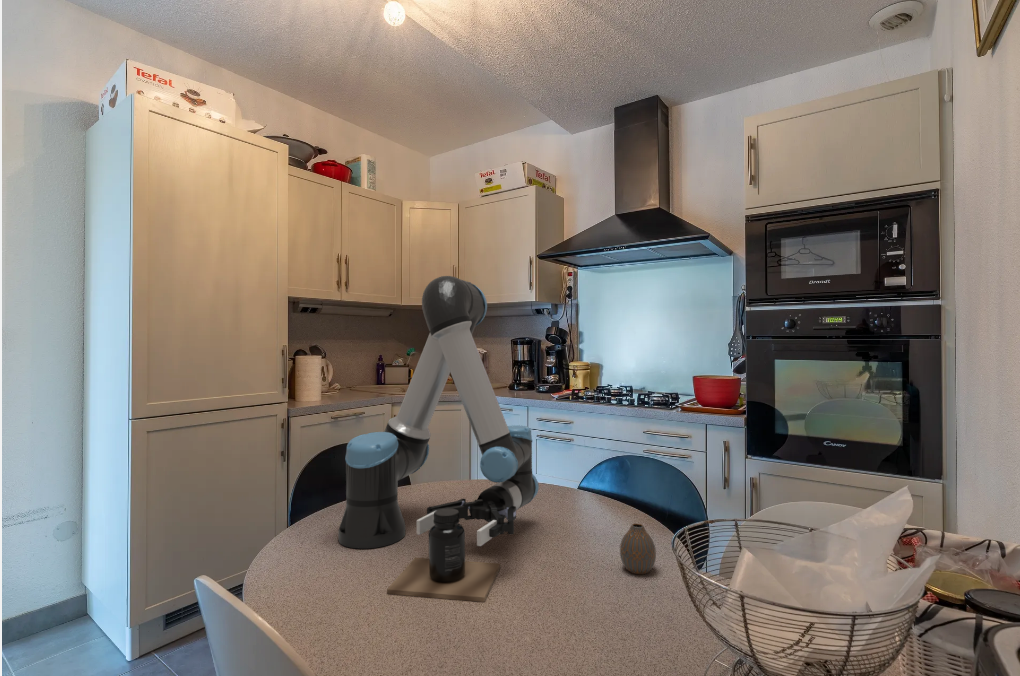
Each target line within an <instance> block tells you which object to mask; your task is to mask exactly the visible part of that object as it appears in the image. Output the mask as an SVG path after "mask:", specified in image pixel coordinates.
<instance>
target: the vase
mask: <svg viewBox="0 0 1020 676" xmlns="http://www.w3.org/2000/svg"><path fill="white" fill-rule="evenodd" d="M656 549H657V548H656V545H655V542H654V539H653V538H652V536H651V535H650V534H649V533H648V531H647V530H646V528H645V526H644V525H643V524H642V523H638V522H637V523H635V522H634V523H632V524H631V525H630V527H629V529H628V530H627V532H625V534H624V535H623V537H622V539H621V541H620V546H619V557H620V559H621V562H622V565H623V567H624V568H625V569H626V570H627V571H628V572H630V573H632V574H635V575H636V574H637V575H644V574H645V575H646V574H648V573H649V572H650V571H651V570H652V569H653V568H654V565H655V563H656V559H657V551H656Z"/></svg>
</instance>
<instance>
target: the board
mask: <svg viewBox="0 0 1020 676" xmlns="http://www.w3.org/2000/svg"><path fill="white" fill-rule="evenodd" d="M501 567H502V566H501V563H499V562H498V563H497V562H484V561H483V562H482V561H469V560H468V561H467V560H465V574H464V576H463V577H462V578H461V579H459V580H457V581H454V582H449V583H441V582H436V581H434V580H432V579H431V577H430V574H429V557H425V558H424V557H415V558H414V559H413V560H411V562H409V564H407V566H406V567H405V568H404V570H402V571H401V572H400V574H399V575H398V577H396V578H395V580H394V581H393V582H392V583H391V584H389V586H388V588H387V589H386V594H387V595H396V596H407V597H419V598H432V599H444V600H453V601H465V602H466V601H467V602H477V603H485V602H486V601H487V597H488V596H489V594H490V591H491V590H492V587H493V585H494V582H495V581H496V578H497V576H498V575H499V572H500V570H501Z"/></svg>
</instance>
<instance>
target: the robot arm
mask: <svg viewBox="0 0 1020 676" xmlns="http://www.w3.org/2000/svg"><path fill="white" fill-rule="evenodd" d="M421 307H422V312H423V316H424V319H425V323H426V325H427V328H428V331H429V334H428V337H427V339H426V342H425V345H424V347H423V349H422V352H421V354H420V357H419V359H418V362H417V364H416V367H415V368H414V372H413V374H412V377H411V380H410V382H409V385H408V388H407V389H406V392H405V394H404V398H403V401H402V402H401V404H400V408H399V410H398V413H397V415H395V416H394V417H391V418H390V419H389V420H388V421H387V423H386V426H385V429H384V431H377V432H376V431H375V432H369V433H364V434H360V435H357V436H355V437H353V438H351V439H350V440H349V441H348V442H347V445H346V452H345V459H344V460H345V474H346V475H345V481H346V483H345V484H346V485H345V490H346V491H345V495H346V497H345V498H346V500H345V501H346V502H345V503H346V504H345V505H346V506H345V509H344V512H343V515H342V517H341V518H342V519H341V521H340V524H339V528H338V534H337V536H338V537H337V538H338V543H339V544H340V545H342V546H344V547H346V548H350V549H361V550H362V549H375V548H382V547H386V546H390V545H393V544H394V543H395V544H396V543H397V542H399V541H401V540H402V539H403V538H404V537H405V536H406V523H405V519H404V516H403V513H402V511H401V508H400V504H399V502H398V500H399V499H398V486H399V485H398V483H399V482H398V481H400V480H402V479H404V478H406V477H408V476H410V475H413V474H414V473H416V472H417V471H418V470H420V469H421V468H422V467H423V466H424V465H425V463H426V461H427V460H428V458H429V453H430V444H429V442H430V439H431V436H432V434H431V431H430V429H429V426H430V423H431V421H432V418H433V416H434V414H435V411H436V409H437V406H438V404H439V401H440V398H441V396H442V393H443V392H444V389H445V386H446V384H447V381H448V379H449V376H450V375H451V377H452V379H453V383H454V385H455V388H456V391H457V393H458V396H459V398H460V402H461V403H462V406H463V409H464V412H465V413H466V417H467V419H468V422H469V424H470V427H471V429H472V431H473V434H474V435H473V436H474V438H475V440H476V442H477V446H478V447H479V450H480V454H481V458H480V462H479V467H480V471H481V473H482V475H483V476H484V477H485V479H487V480H488V481H490V482H492V483H496V484H494V485H491V486H489V487H488V488H486V489H485V490H483V491H481V492H480V494H479V495H478V497H477V499H475V500H472V501H466V498H460V499H458V500H454V501H450V502H447V503H442V504H437V505H433V506H428V507H426V515H424V516H422V517H420V518H418V519H416V535H421V534H423V533H425V532H427V531H430V529H431V528H432V527H433V526H434V525H435V524H434V522H433V520H434V512H435V511H437V510H441V509H455V510H458V511H459V520H461V519H464V520H465V521H471V520H483V521H486V522H487V524H485V525H484V526H482V527H481V528H479V529H478V530H476V546H477V547H482V546H483V545H485V544H486V543H487V542H489V541H490V540H492V538H496V537H497V536H500V535H503V534H505V533H507V534H508V535H514V534H515V533H514V532H515V529H514V528H515V525H514V524H515V523H514V522H515V521H516V519H517V511H518V510H520V509H521V508H523V507H524V506H526V505H528V504H529V503H531V502H532V501H533V499H535V497H537V495H538V492H539V489H540V487H539V482H538V479H537V478H536V476H535V475H534V474H533V448H532V446H533V438H532V437H533V436H532V430H531V427H529V426H527V425H520V424H519V425H515V424H514V425H513V424H512V425H508V424H507V421H506V419H505V417H504V414H503V411H502V409H501V406H500V404H499V402H498V399H497V395H496V394H495V391H494V388H493V387H492V386H493V385H492V383H491V381H490V379H489V376H488V373H487V370H486V368H485V366H484V363H483V360H482V358H481V356H480V355H481V354H480V353H479V350H478V348H477V345H476V342H475V340H474V337H473V333H474V332H475V331H474V330H475V328H476V327H477V326H478V325H479V324H480V323H482V321H484V319H485V316H486V314H487V312H488V311H487V310H488V302H487V297H486V295H485V294H484V293H483V291H482V290H481V289H480V288H479V287H478V286H477V285H476V284H474V283H472V282H470V281H468V280H467V281H466V280H464V279H460V278H458V277H455V276H451V275H441V276H438V277H437V278H434V279H433V280H431V281H430V282H429V283H428V284H427V285H426V286H425V288H424V291H423V294H422V296H421ZM468 514H469V515H468ZM505 519H506V521H505Z"/></svg>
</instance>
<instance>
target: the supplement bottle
mask: <svg viewBox="0 0 1020 676" xmlns="http://www.w3.org/2000/svg"><path fill="white" fill-rule="evenodd" d="M433 522H434V524H435V525H434V526H433V527H432V528H431V529H429V530H428V558H429V574H430V577H431V579H432V580H434V581H436V582H441V583H449V582H454V581H457V580H459V579H461V578H462V577H463V576H464V574H465V561H466V539H465V538H466V537H465V535H466V534H465V533H466V532H465V528H464V526H463V525H462V524H461V523H460V519H459V511H458V510H455V509H441V510H437V511H435V512H434V520H433Z"/></svg>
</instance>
